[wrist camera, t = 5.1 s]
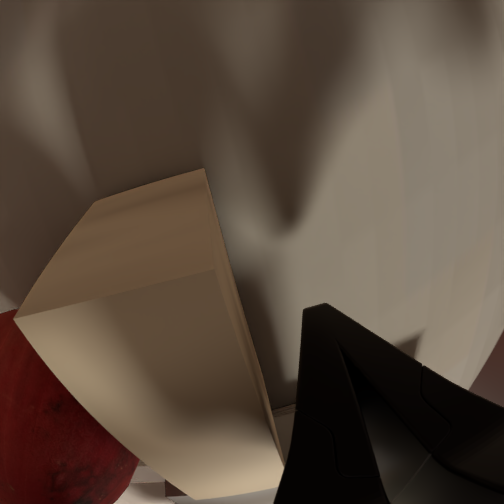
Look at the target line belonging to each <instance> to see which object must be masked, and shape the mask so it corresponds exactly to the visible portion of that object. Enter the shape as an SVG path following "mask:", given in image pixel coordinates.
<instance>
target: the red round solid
mask: <svg viewBox="0 0 504 504" xmlns="http://www.w3.org/2000/svg"><path fill="white" fill-rule="evenodd" d="M18 310H19V309H14V310H11V311H8V312H4V313H1V314H0V504H113V503H114V502H115V501H117V500H118V498H119V497H120V496H121V495H122V493H123V492H124V491H125V490H126V488H127V487H128V486H129V483H130V481H131V479H132V477H133V474H134V472H135V470H136V468H137V465H138V463H139V461H140V459H139V458H138V457H137V456H135V455H134V454H133V453H132V452H131V451H129V450H128V449H127V448H126V447H125V446H124V445H123V444H121V443H120V442H119V441H118V440H117V439H116V438H115V437H114V436H113V435H112V434H110V433H109V432H108V431H107V430H106V429H105V428H104V427H103V426H102V425H101V424H100V423H99V422H98V421H97V420H96V419H95V418H94V417H93V416H92V415H91V414H90V413H89V412H88V411H87V410H86V409H85V408H84V407H83V406H82V405H81V404H80V403H79V402H78V400H77V399H76V398H75V397H74V396H73V395H72V394H71V393H70V392H69V391H68V389H67V388H66V387H65V386H64V385H63V384H62V383H61V381H60V380H59V379H58V378H57V377H56V376H55V374H54V373H53V372H52V371H51V370H50V368H49V367H48V366H47V365H46V363H45V362H44V361H43V360H42V358H41V357H40V356H39V354H38V353H37V352H36V350H35V349H34V348H33V346H32V345H31V344H30V342H29V341H28V340H27V338H26V337H25V335H24V334H23V333H22V331H21V330H20V328H19V327H18V325H17V324H16V323H15V321H14V320H13V319H14V317H15V315H16V313H17V312H18Z"/></svg>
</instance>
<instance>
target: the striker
mask: <svg viewBox="0 0 504 504" xmlns="http://www.w3.org/2000/svg"><path fill="white" fill-rule="evenodd" d="M13 320H14V321H15V323H16V324H17V325H18V327H19V328H20V330H21V331H22V333H23V334H24V335H25V337H26V338H27V340H28V341H29V342H30V344H31V345H32V346H33V348H34V349H35V350H36V352H37V353H38V354H39V356H40V357H41V358H42V360H43V361H44V362H45V363H46V365H47V366H48V367H49V368H50V370H51V371H52V372H53V373H54V374H55V376H56V377H57V378H58V379H59V380H60V381H61V383H62V384H63V385H64V386H65V387H66V388H67V389H68V391H69V392H70V393H71V394H72V395H73V396H74V397H75V398H76V399H77V400H78V402H79V403H80V404H81V405H82V406H83V407H84V408H85V409H86V410H87V411H88V412H89V413H90V414H91V415H92V416H93V417H94V418H95V419H96V420H97V421H98V422H99V423H100V424H101V425H102V426H103V427H104V428H105V429H106V430H107V431H108V432H109V433H110V434H112V435H113V436H114V437H115V438H116V439H117V440H118V441H119V442H120V443H121V444H123V445H124V446H125V447H126V448H127V449H128V450H129V451H131V452H132V453H133V454H134V455H135V456H137V457H138V458H139V459H140V460H141V461H143V462H144V463H145V464H146V465H148V466H149V467H150V468H151V469H153V470H154V471H155V472H156V473H158V474H159V475H160V476H162V477H163V478H164V479H165V491H166V497H167V498H168V499H170V500H172V501H173V502H175V503H177V504H273V501H274V498H275V495H276V492H277V489H278V486H279V483H280V480H281V476H282V473H283V470H284V467H285V463H286V459H287V455H288V451H289V447H290V443H291V436H292V430H293V422H294V414H290V415H286V416H283V417H279V418H275V419H273V415H272V411H271V407H270V403H269V399H268V395H267V391H266V387H265V383H264V379H263V375H262V372H261V368H260V365H259V362H258V358H257V355H256V352H255V348H254V345H253V342H252V338H251V335H250V331H249V328H248V324H247V321H246V318H245V314H244V311H243V307H242V304H241V300H240V297H239V293H238V290H237V286H236V283H235V279H234V276H233V272H232V269H231V265H230V261H229V258H228V254H227V251H226V247H225V243H224V240H223V236H222V232H221V229H220V225H219V221H218V218H217V214H216V210H215V207H214V203H213V199H212V195H211V192H210V188H209V184H208V180H207V176H206V173H205V169H204V168H202V169H199V170H195V171H191V172H188V173H184V174H180V175H177V176H173V177H170V178H166V179H163V180H160V181H156V182H153V183H150V184H146V185H143V186H140V187H137V188H134V189H130V190H127V191H124V192H121V193H118V194H115V195H112V196H109V197H106V198H103V199H100V200H98V201H95V202H94V203H93V204H92V205H91V207H90V208H89V209H88V210H87V212H86V213H85V214H84V215H83V217H82V218H81V219H80V221H79V222H78V223H77V224H76V226H75V227H74V228H73V230H72V231H71V232H70V234H69V235H68V236H67V238H66V239H65V240H64V242H63V243H62V245H61V246H60V247H59V249H58V250H57V251H56V253H55V254H54V256H53V257H52V259H51V260H50V261H49V263H48V264H47V266H46V267H45V269H44V270H43V272H42V273H41V275H40V276H39V278H38V279H37V281H36V282H35V284H34V286H33V287H32V289H31V290H30V292H29V293H28V295H27V297H26V298H25V300H24V302H23V303H22V305H21V307H20V308H19V310H18V312H17V313H16V315H15V317H14V319H13Z"/></svg>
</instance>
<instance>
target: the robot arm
mask: <svg viewBox="0 0 504 504" xmlns="http://www.w3.org/2000/svg"><path fill="white" fill-rule="evenodd" d="M273 504H504V407H502V406H500V405H498V404H495V403H493V402H491V401H489V400H487V399H485V398H483V397H481V396H478V395H476V394H474V393H472V392H470V391H468V390H466V389H464V388H462V387H460V386H458V385H456V384H454V383H453V382H451V381H449V380H447V379H446V378H444V377H442V376H441V375H439V374H437V373H436V372H434V371H432V370H431V369H429V368H428V367H426V366H422V364H421V363H420V362H418V361H417V360H415V359H413V358H412V357H410V356H409V355H407V354H406V353H404V352H403V351H401V350H399V349H398V348H396V347H395V346H393V345H392V344H390V343H389V342H387V341H385V340H384V339H382V338H381V337H379V336H378V335H376V334H374V333H373V332H371V331H370V330H368V329H367V328H365V327H364V326H362V325H360V324H359V323H357V322H356V321H354V320H353V319H351V318H350V317H348V316H346V315H345V314H343V313H342V312H340V311H339V310H337V309H336V308H334V307H332V306H331V305H329V304H328V303H323V304H319V305H315V306H312V307H308V308H305V309H303V314H302V330H301V345H300V358H299V371H298V382H297V394H296V404H295V413H294V422H293V430H292V436H291V443H290V447H289V451H288V455H287V459H286V463H285V467H284V470H283V473H282V476H281V480H280V483H279V486H278V489H277V492H276V495H275V498H274V501H273Z"/></svg>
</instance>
